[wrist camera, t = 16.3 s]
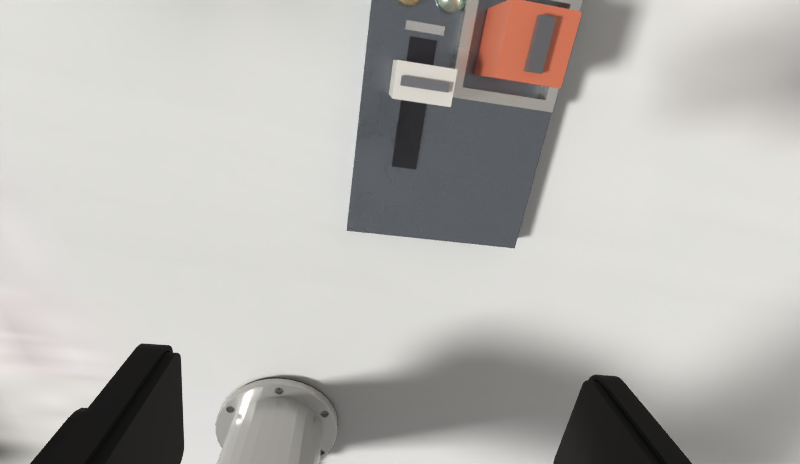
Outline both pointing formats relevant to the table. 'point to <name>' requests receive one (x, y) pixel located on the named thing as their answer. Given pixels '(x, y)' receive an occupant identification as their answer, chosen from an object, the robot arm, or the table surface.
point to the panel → (444, 131)
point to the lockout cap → (527, 42)
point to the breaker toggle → (422, 83)
